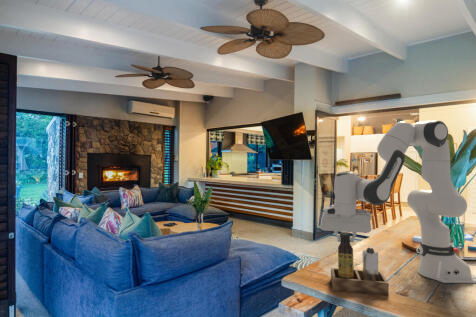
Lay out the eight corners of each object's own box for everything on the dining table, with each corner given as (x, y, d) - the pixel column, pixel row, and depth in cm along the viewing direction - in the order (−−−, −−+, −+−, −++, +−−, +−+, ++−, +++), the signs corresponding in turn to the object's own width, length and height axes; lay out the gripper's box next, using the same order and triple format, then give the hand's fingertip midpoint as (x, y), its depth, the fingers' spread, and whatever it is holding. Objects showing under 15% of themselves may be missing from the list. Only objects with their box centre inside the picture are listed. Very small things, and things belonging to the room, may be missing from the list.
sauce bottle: (338, 281, 125) (335, 234, 125) (339, 274, 131) (336, 230, 131) (354, 282, 123) (351, 235, 122) (354, 276, 129) (352, 231, 128)
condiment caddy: (381, 283, 129) (381, 271, 129) (388, 295, 117) (388, 283, 117) (331, 278, 134) (330, 267, 134) (333, 290, 122) (333, 278, 122)
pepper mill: (376, 283, 126) (376, 245, 126) (380, 289, 121) (379, 250, 121) (361, 281, 128) (361, 244, 128) (364, 287, 122) (363, 249, 122)
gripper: (369, 208, 127) (369, 240, 127) (320, 207, 132) (320, 238, 132) (372, 211, 121) (373, 245, 121) (320, 209, 126) (321, 242, 126)
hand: (345, 241), depth 126 cm, fingers closed on sauce bottle, 4 cm apart
